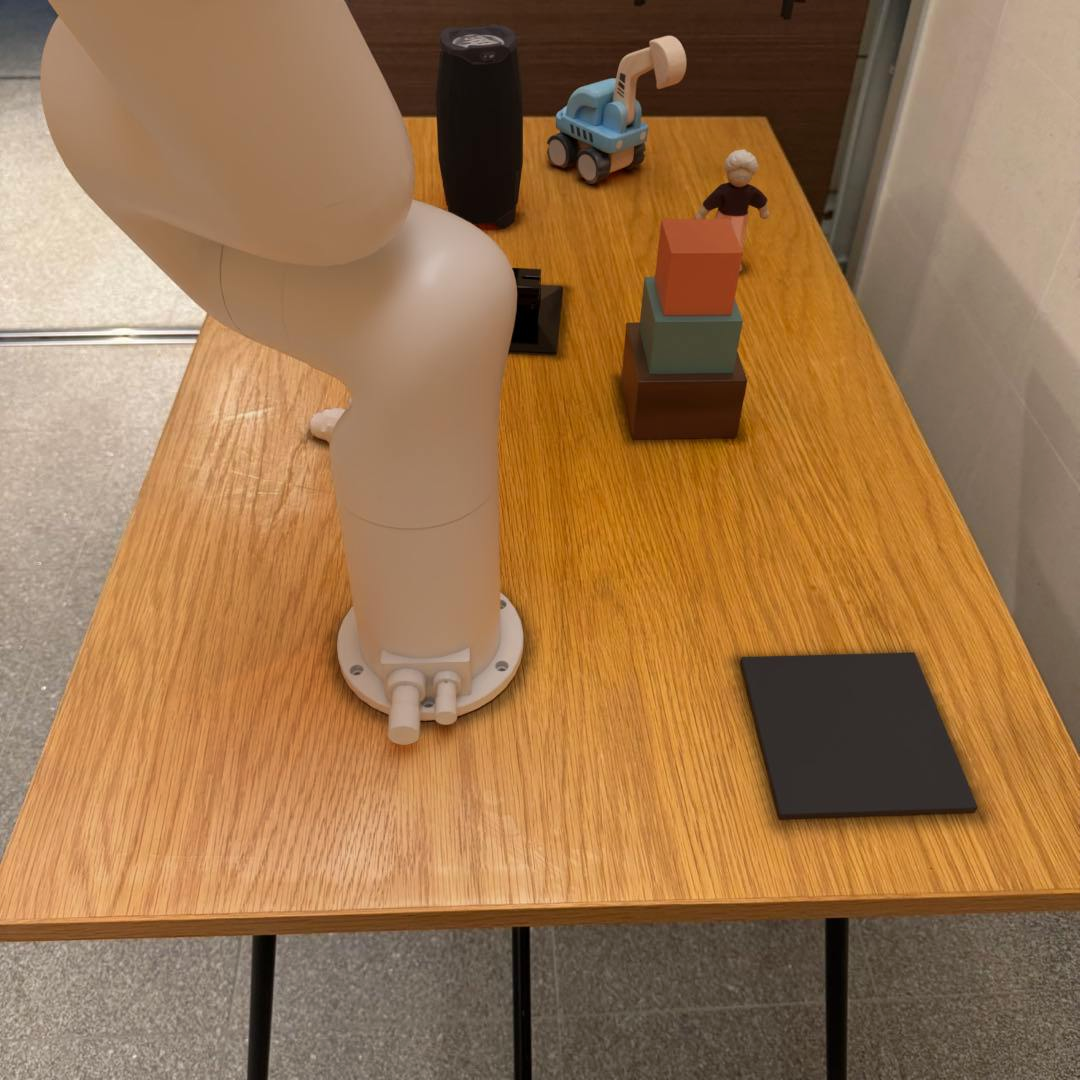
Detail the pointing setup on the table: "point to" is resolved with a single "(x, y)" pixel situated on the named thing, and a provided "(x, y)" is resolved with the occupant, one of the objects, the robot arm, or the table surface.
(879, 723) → the mat
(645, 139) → the toy excavator
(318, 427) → the white creature statuette
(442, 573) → the robot arm
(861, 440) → the table surface
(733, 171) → the grandmother figurine
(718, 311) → the orange-red cube
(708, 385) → the base block
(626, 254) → the table surface
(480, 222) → the portable speaker
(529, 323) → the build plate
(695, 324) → the middle block
